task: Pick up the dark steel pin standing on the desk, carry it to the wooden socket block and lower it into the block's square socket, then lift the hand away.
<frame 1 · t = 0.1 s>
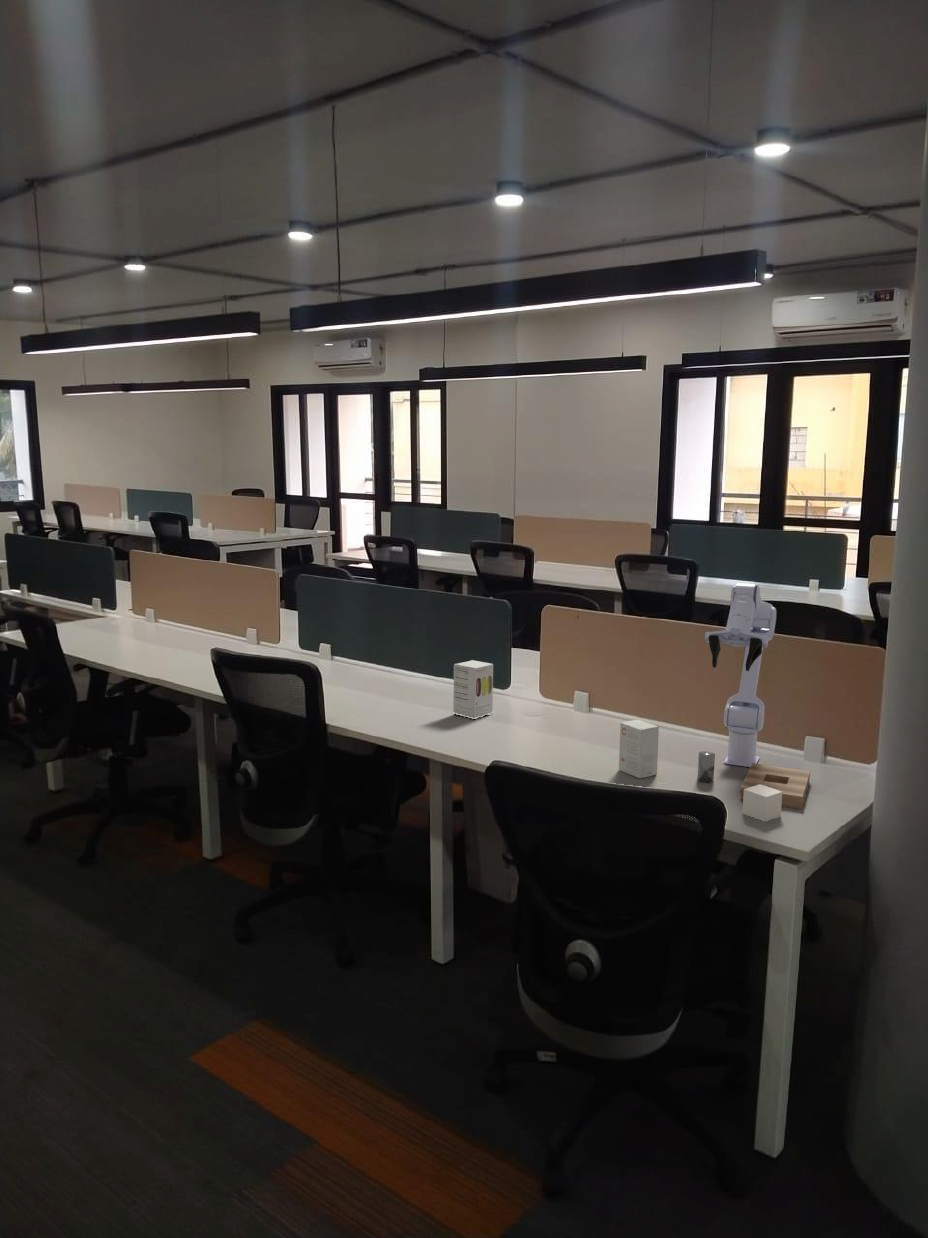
hand: (730, 666, 211), 32 cm above the table, tool tilted 50°, fingers open, 7 cm apart
steel pin: (705, 780, 226), on the table
wooden socket block: (775, 790, 219), on the table
supplement box: (472, 715, 286), on the table
small box: (637, 773, 232), on the table
white cube: (761, 816, 204), on the table
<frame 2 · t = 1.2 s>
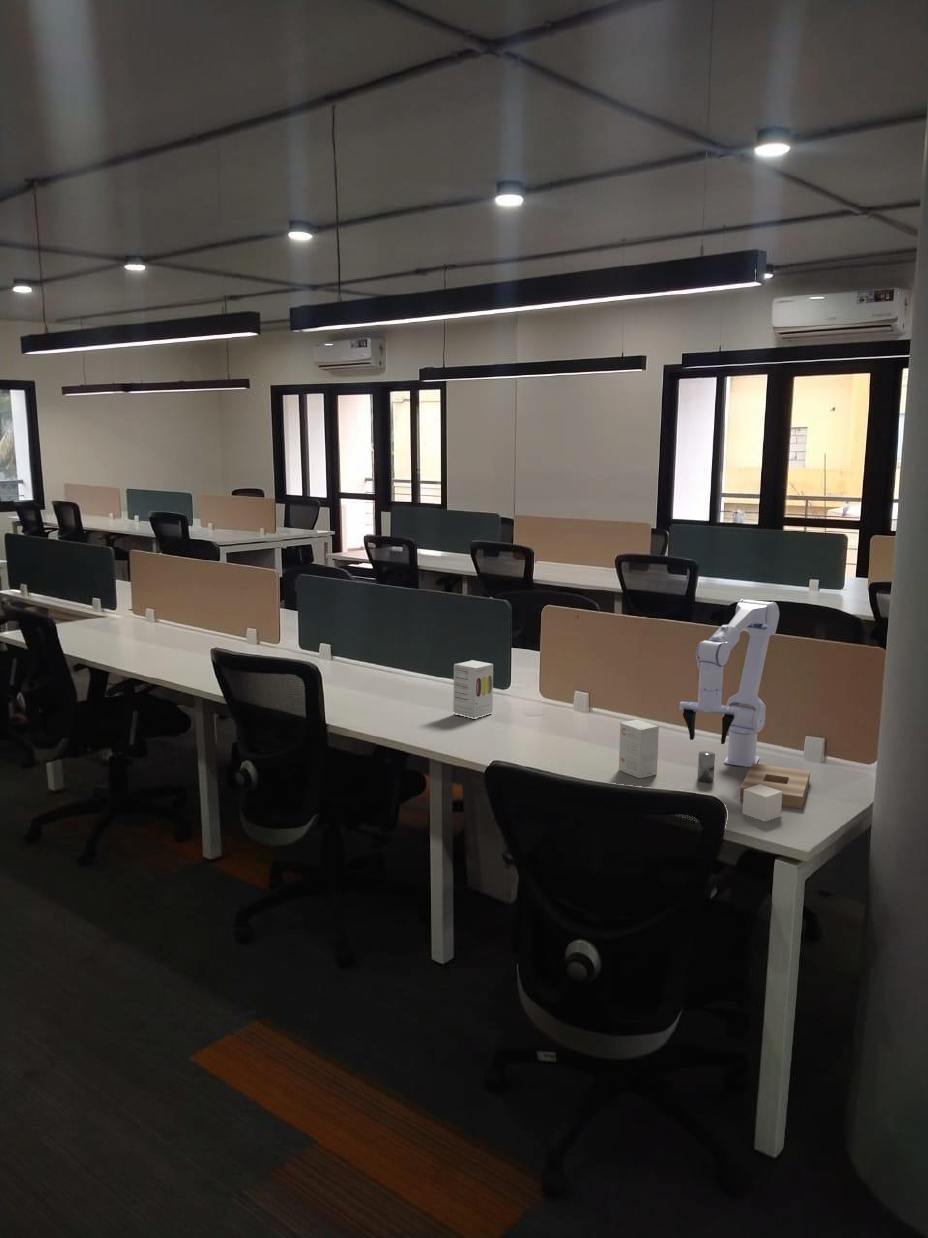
hand: (707, 740, 225), 10 cm above the table, tool pointing down, fingers open, 7 cm apart
nothing on the table moved.
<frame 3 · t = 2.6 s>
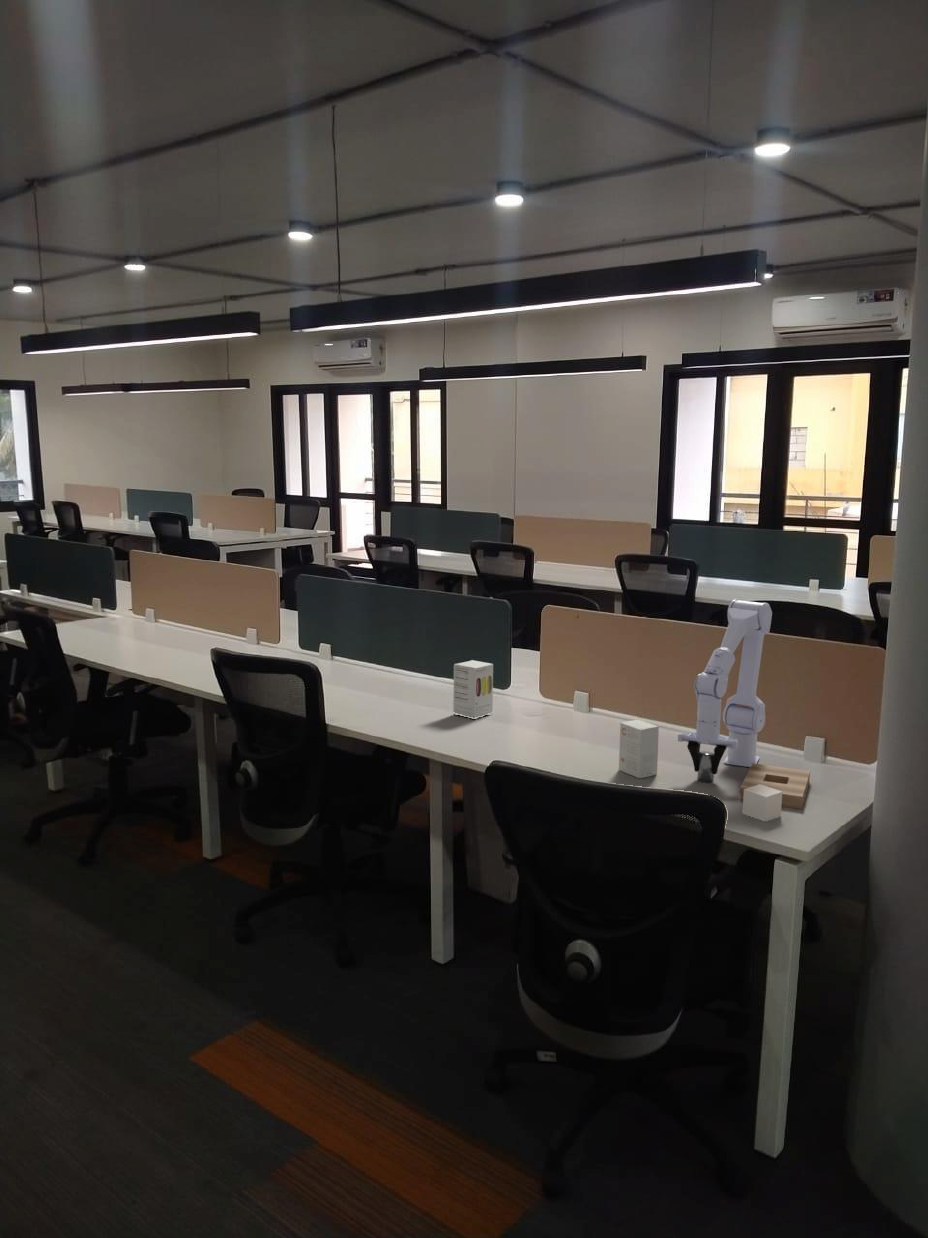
hand: (705, 771, 226), 2 cm above the table, tool pointing down, fingers closed on steel pin, 4 cm apart
steel pin: (705, 780, 226), on the table, touching gripper
everything else where it was.
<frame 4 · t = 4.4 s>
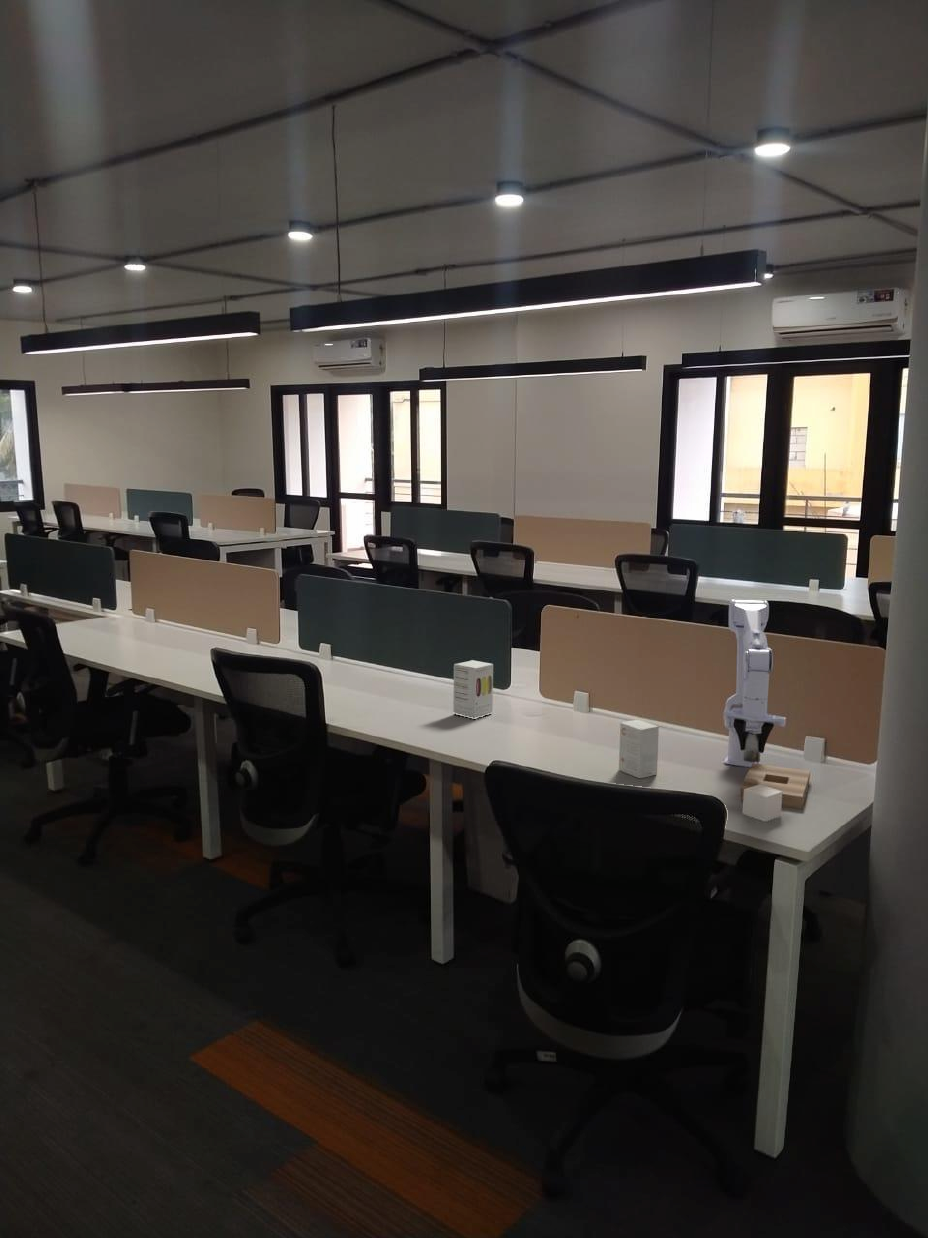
hand: (752, 750, 220), 9 cm above the table, tool pointing down, fingers closed on steel pin, 4 cm apart
steel pin: (751, 759, 220), point 7 cm above the table, touching gripper
everything else where it was.
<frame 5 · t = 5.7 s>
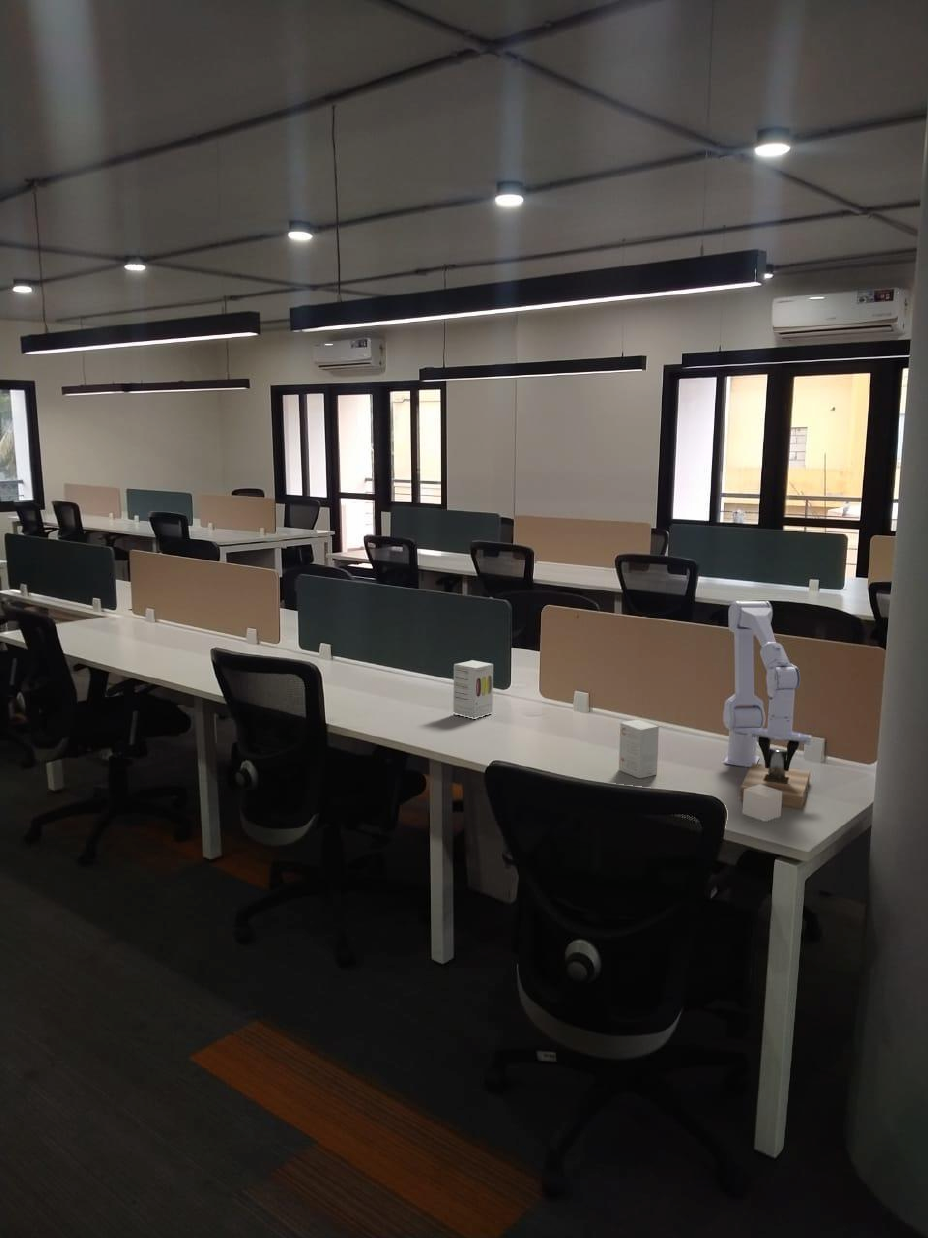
hand: (777, 768, 218), 6 cm above the table, tool pointing down, fingers closed on steel pin, 4 cm apart
steel pin: (776, 778, 218), point 3 cm above the table, touching gripper
everything else where it was.
when the fingers open (4 cm above the table, at t = 6.5 s): steel pin drops 2 cm, resting in wooden socket block.
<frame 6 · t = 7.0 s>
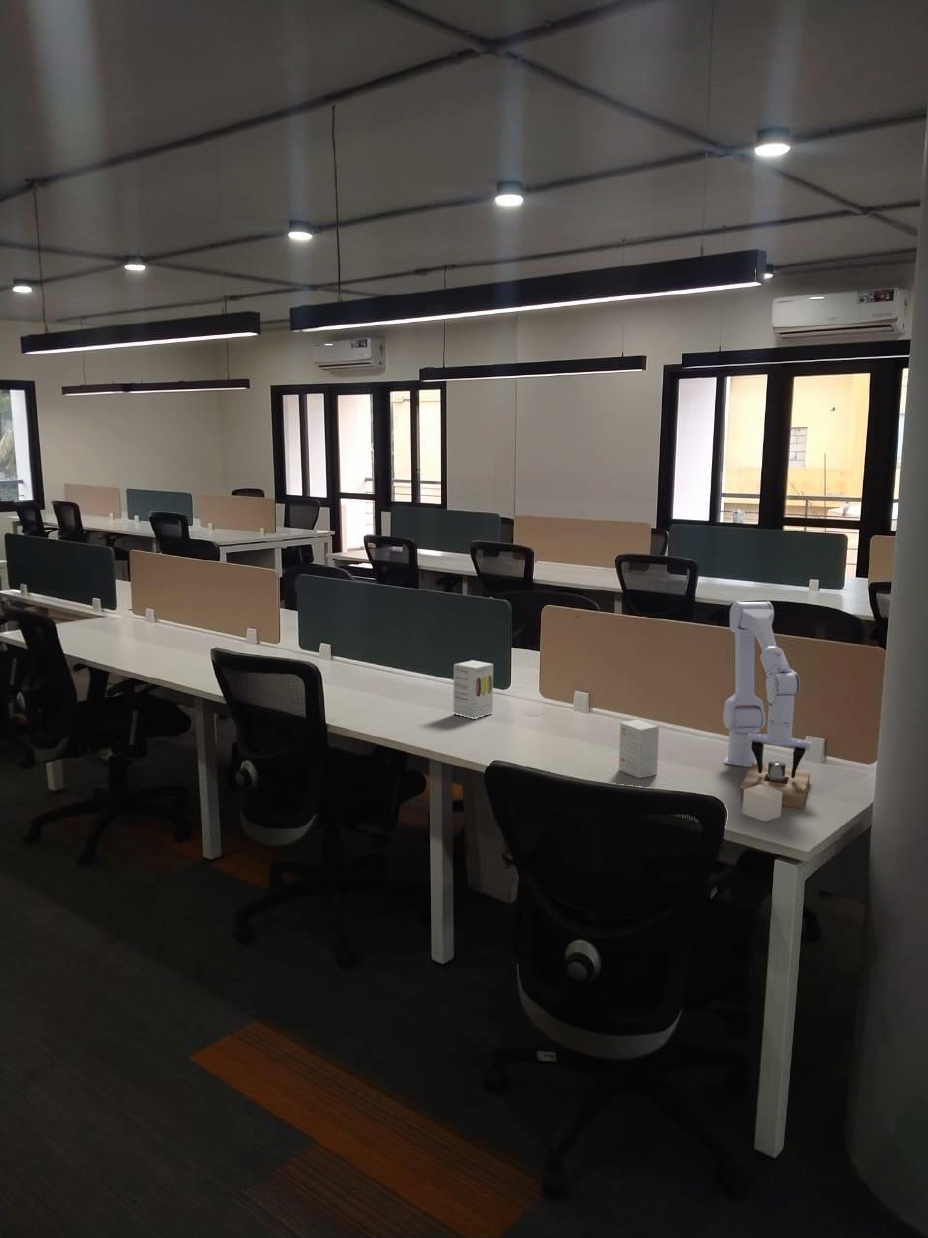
hand: (776, 774, 218), 4 cm above the table, tool pointing down, fingers open, 7 cm apart
steel pin: (775, 791, 219), resting in wooden socket block
everything else where it was.
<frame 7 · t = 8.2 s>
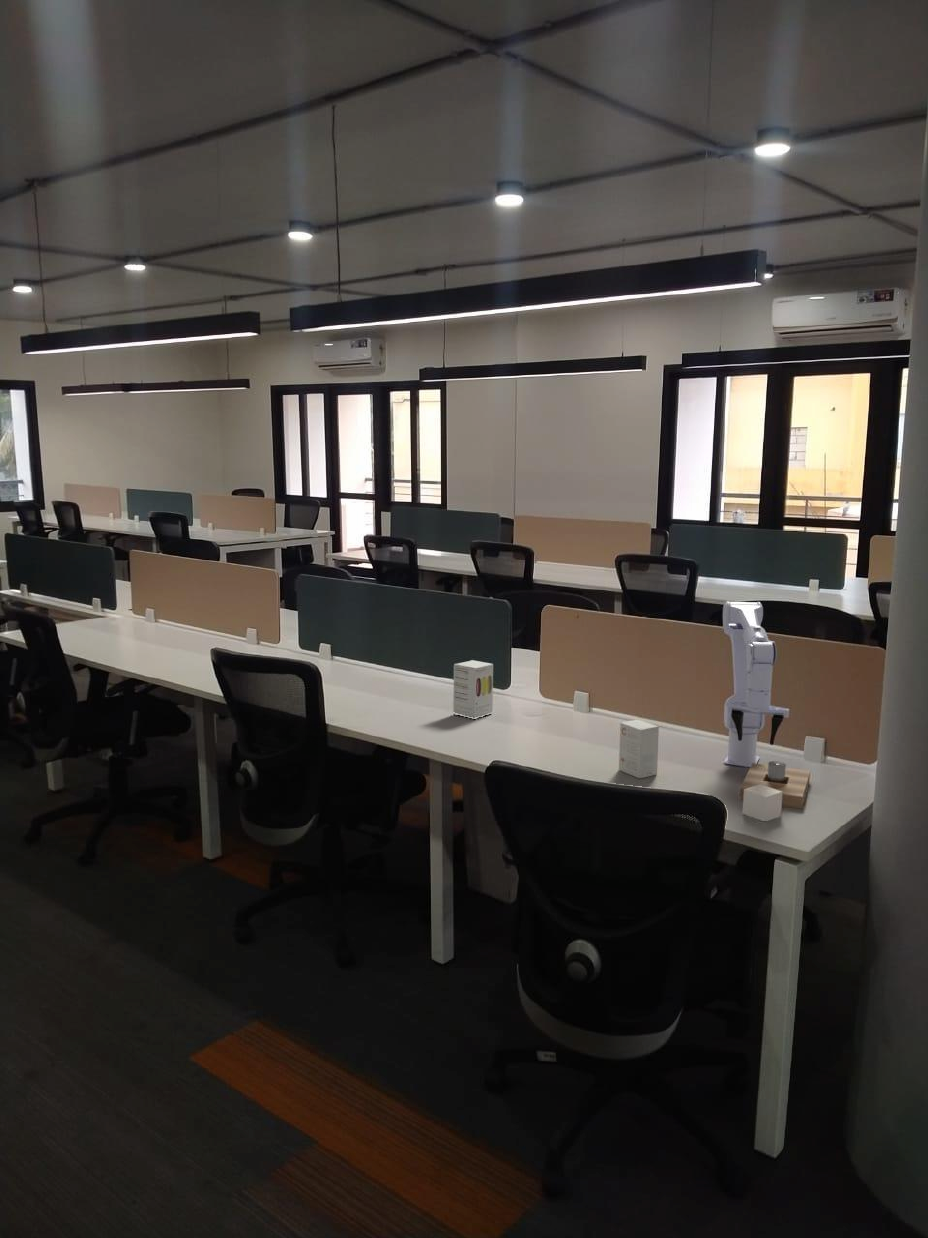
hand: (755, 741, 224), 10 cm above the table, tool pointing down, fingers open, 7 cm apart
nothing on the table moved.
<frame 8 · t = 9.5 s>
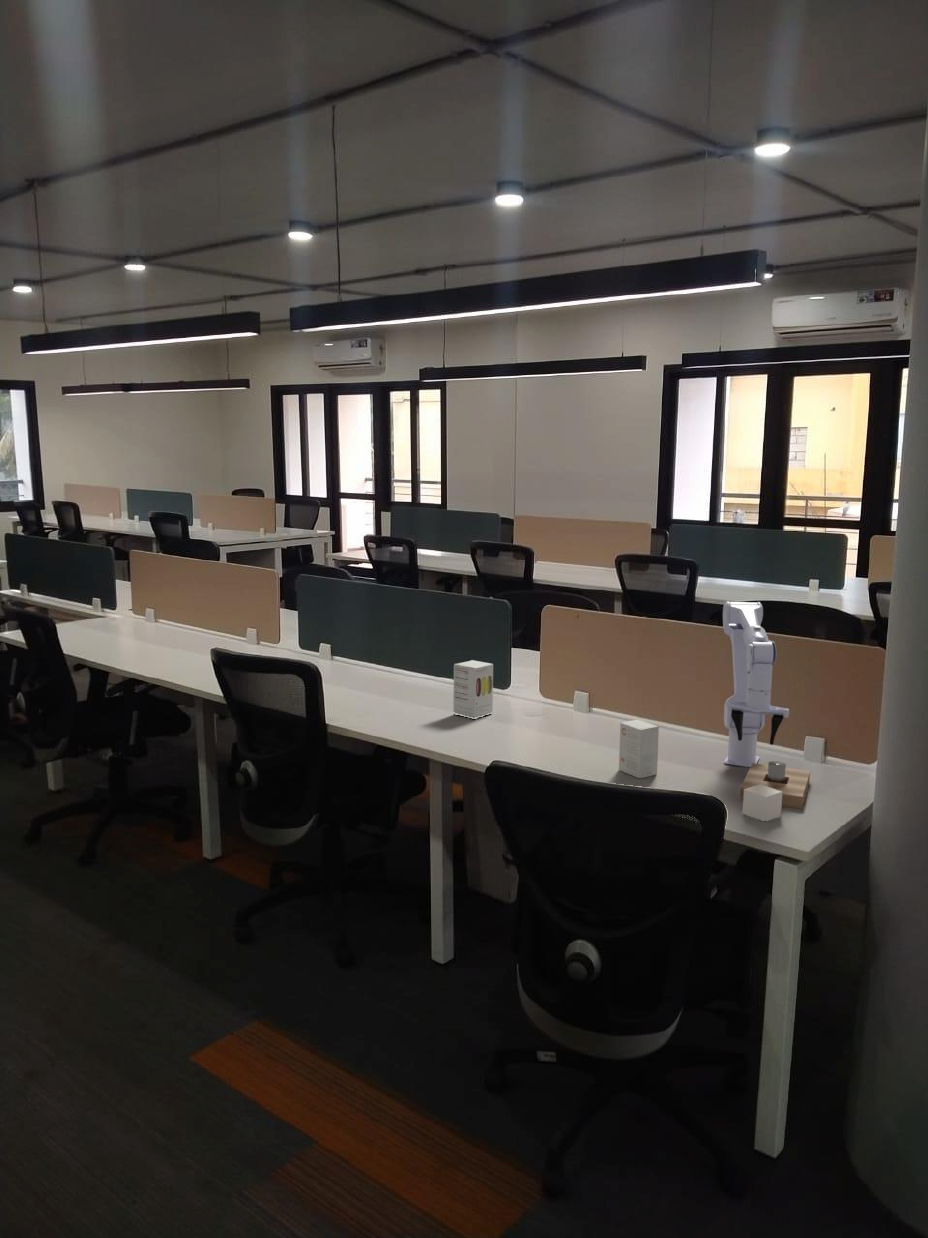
hand: (755, 741, 224), 10 cm above the table, tool pointing down, fingers open, 7 cm apart
nothing on the table moved.
at the end: steel pin 0.1 cm off-centre on the wooden socket block, point 0.0 cm above the wooden socket block's base; steel pin tilted 0°; the gripper is holding nothing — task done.
